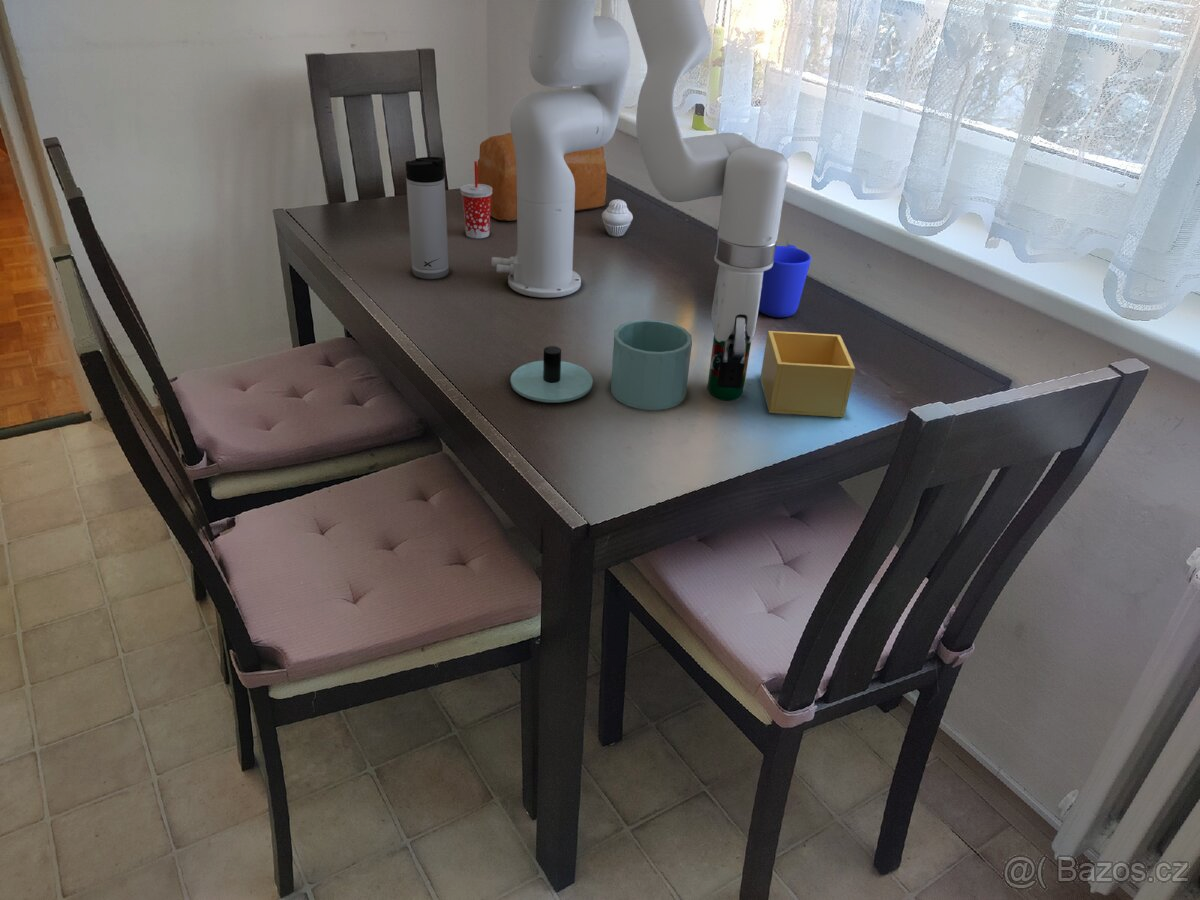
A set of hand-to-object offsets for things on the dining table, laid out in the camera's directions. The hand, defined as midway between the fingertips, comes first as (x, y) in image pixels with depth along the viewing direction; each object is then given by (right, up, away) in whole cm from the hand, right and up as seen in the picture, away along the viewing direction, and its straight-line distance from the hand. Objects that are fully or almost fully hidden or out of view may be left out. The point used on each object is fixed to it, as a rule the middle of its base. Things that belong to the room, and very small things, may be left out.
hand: (727, 375), depth 123 cm
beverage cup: (-41, +32, +51) cm, 73 cm away
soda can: (0, -3, +2) cm, 3 cm away
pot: (-11, -2, +1) cm, 11 cm away
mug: (+13, +14, +28) cm, 34 cm away
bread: (-30, +41, +67) cm, 84 cm away
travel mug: (-47, +20, +33) cm, 61 cm away
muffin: (-14, +33, +55) cm, 66 cm away
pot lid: (-24, -1, +1) cm, 24 cm away
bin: (+11, -3, +2) cm, 11 cm away
